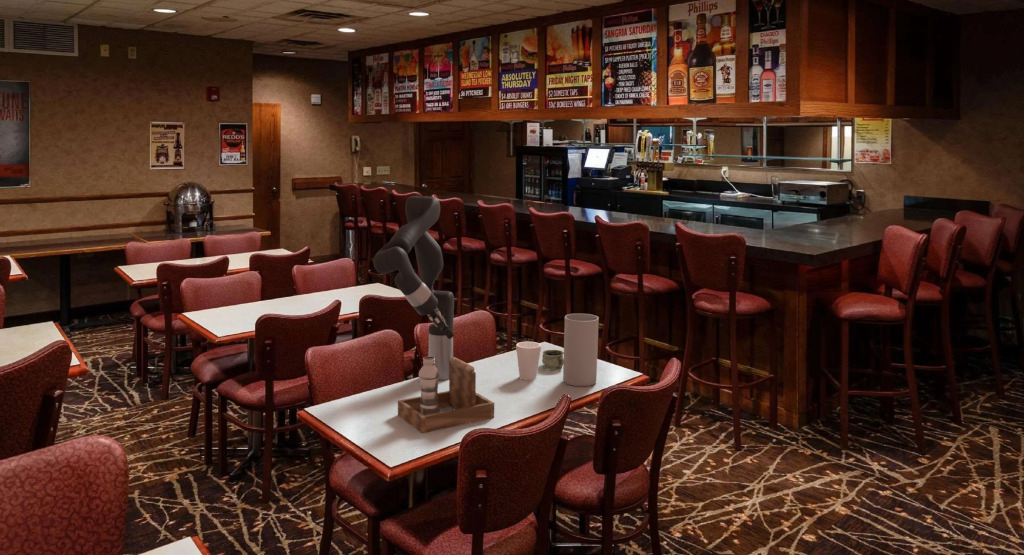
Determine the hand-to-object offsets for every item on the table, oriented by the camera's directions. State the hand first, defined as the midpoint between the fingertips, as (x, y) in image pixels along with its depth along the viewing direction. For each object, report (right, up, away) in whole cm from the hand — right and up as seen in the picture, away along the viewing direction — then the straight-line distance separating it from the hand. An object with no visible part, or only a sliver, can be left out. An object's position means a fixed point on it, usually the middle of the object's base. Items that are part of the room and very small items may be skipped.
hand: (448, 331), depth 247 cm
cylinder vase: (+46, -22, +36) cm, 63 cm away
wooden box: (-1, -28, -1) cm, 28 cm away
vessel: (+37, -19, +54) cm, 68 cm away
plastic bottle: (-6, -28, -2) cm, 29 cm away
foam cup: (+27, -21, +40) cm, 53 cm away
